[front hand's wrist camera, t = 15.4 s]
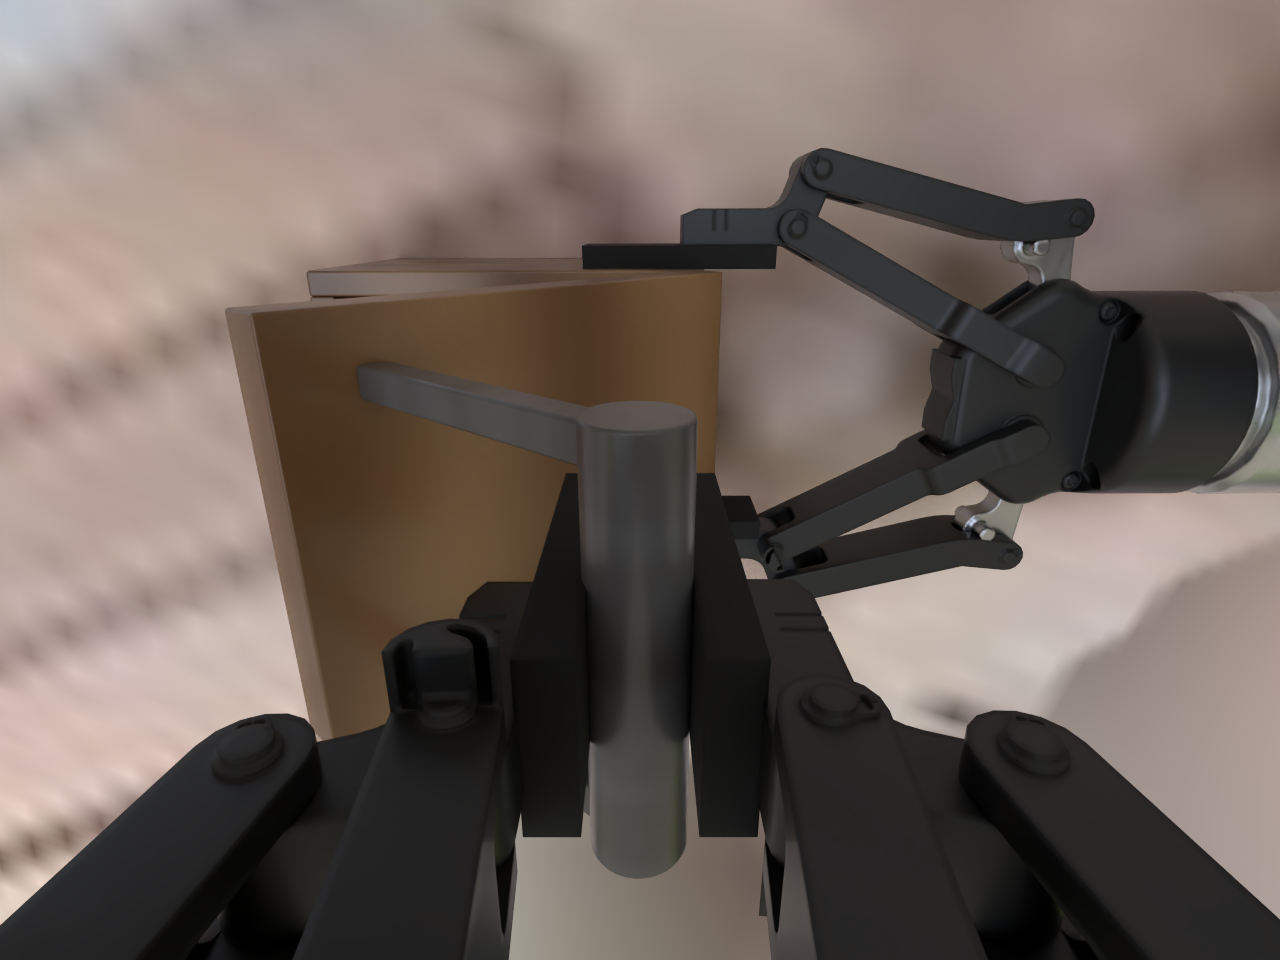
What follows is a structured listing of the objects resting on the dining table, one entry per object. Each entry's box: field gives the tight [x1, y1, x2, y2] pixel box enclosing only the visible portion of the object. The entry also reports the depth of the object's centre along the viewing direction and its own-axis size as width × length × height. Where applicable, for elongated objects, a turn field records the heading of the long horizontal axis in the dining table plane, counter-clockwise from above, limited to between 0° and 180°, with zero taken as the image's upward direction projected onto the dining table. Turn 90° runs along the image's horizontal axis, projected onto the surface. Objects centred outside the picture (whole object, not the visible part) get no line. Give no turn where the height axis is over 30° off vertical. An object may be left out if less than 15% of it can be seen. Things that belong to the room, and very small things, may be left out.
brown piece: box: [225, 271, 722, 878], centre depth 16 cm, size 14×9×9 cm
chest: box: [307, 258, 704, 301], centre depth 28 cm, size 13×9×9 cm
